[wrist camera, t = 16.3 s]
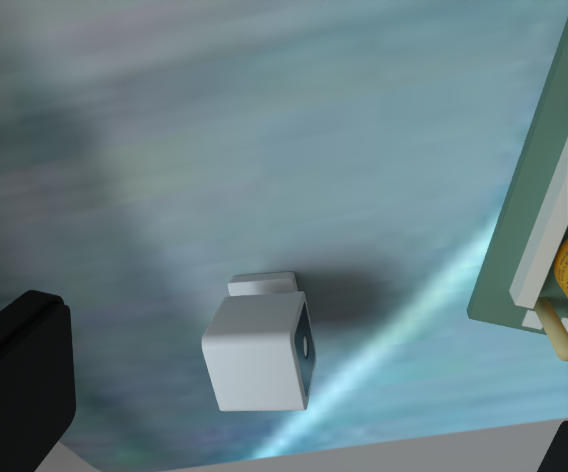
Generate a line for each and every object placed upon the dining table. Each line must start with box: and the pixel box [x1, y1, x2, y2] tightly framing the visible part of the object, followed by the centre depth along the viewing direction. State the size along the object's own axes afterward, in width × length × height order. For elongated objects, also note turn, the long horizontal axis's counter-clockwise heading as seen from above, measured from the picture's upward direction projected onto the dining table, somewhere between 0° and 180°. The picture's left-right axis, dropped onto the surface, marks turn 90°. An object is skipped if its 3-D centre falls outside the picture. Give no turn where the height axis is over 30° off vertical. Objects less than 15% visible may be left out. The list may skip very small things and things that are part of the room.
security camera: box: [202, 272, 316, 411], centre depth 38 cm, size 6×7×10 cm
